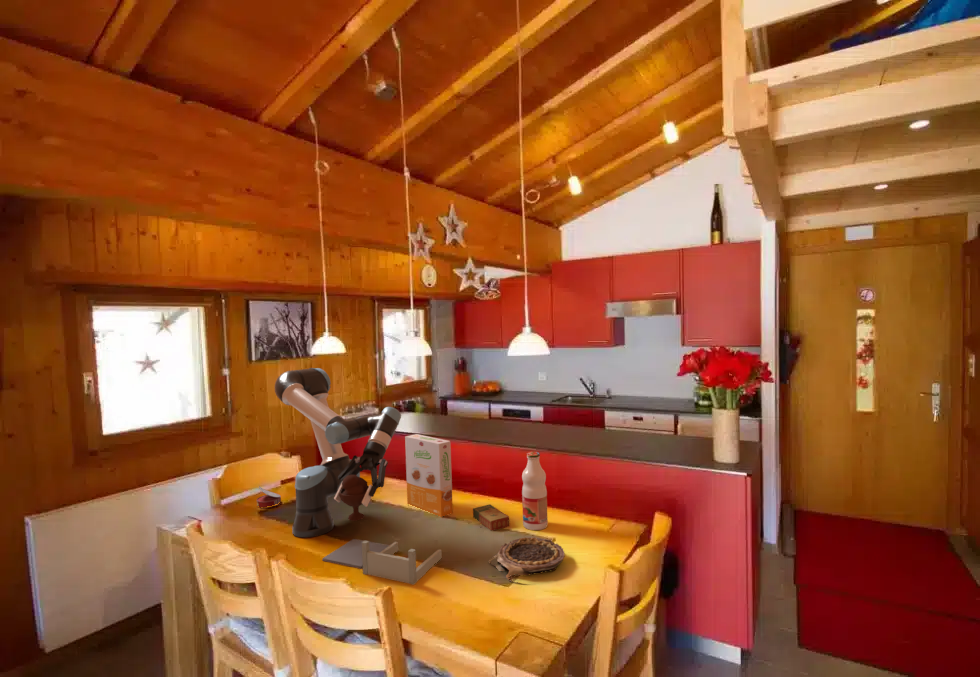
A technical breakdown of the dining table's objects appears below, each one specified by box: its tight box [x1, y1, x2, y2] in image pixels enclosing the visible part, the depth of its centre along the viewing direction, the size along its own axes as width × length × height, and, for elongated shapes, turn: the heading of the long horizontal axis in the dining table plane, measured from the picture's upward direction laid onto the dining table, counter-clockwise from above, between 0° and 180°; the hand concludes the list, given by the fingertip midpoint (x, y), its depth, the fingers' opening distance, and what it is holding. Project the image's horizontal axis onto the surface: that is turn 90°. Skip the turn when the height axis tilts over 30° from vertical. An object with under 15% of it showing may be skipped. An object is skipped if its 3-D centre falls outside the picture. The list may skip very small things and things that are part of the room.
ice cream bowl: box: [339, 475, 369, 522], centre depth 168 cm, size 11×11×15 cm
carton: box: [472, 504, 511, 532], centre depth 194 cm, size 8×16×4 cm, turn 28°
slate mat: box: [322, 538, 391, 570], centre depth 169 cm, size 16×16×1 cm
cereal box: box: [404, 433, 454, 518], centre depth 209 cm, size 22×6×30 cm, turn 47°
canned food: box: [256, 486, 282, 507], centre depth 221 cm, size 11×10×10 cm
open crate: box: [362, 540, 443, 586], centre depth 159 cm, size 19×17×10 cm
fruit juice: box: [521, 451, 549, 531], centre depth 188 cm, size 9×9×28 cm
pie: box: [488, 536, 565, 586], centre depth 159 cm, size 28×27×5 cm
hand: (350, 502), depth 166 cm, fingers closed on ice cream bowl, 11 cm apart
